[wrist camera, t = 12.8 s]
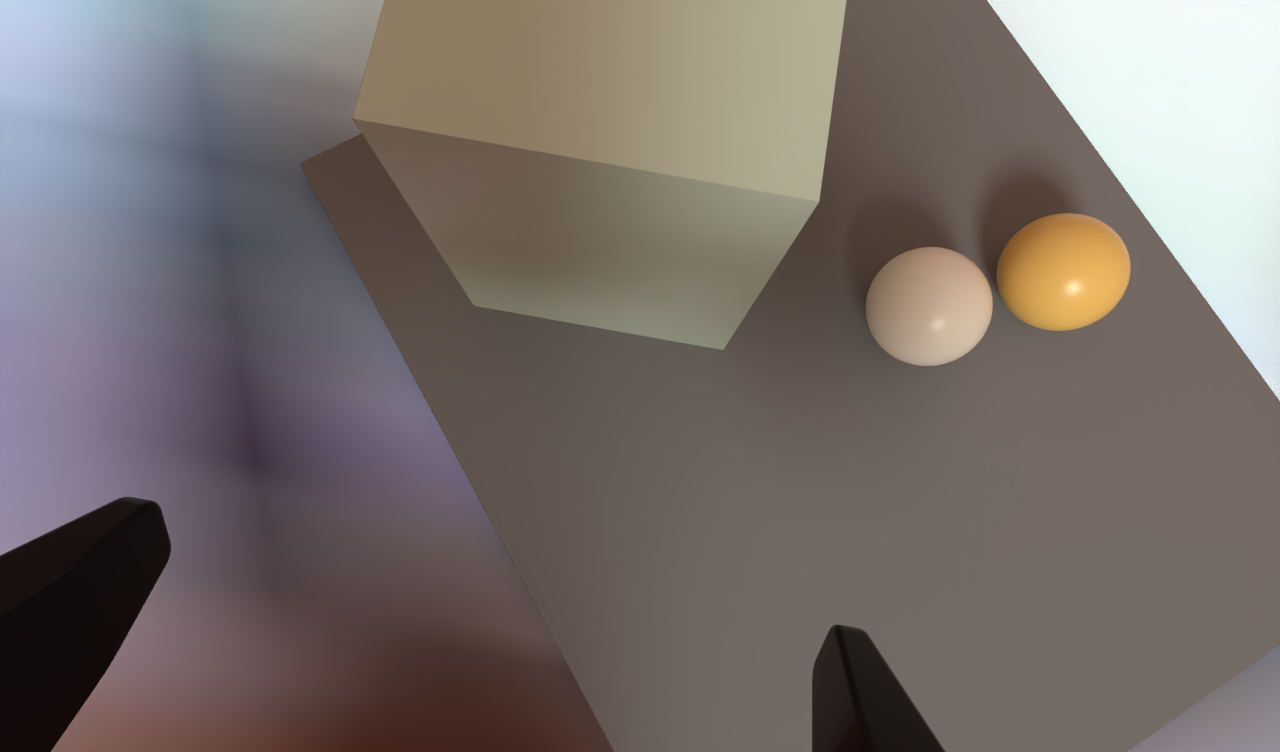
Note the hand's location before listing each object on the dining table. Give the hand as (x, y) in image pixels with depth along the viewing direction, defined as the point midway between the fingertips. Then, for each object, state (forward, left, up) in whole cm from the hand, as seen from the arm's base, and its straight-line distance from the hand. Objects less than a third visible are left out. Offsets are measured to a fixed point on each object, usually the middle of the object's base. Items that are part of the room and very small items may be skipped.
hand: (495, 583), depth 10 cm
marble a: (+1, -11, -8) cm, 14 cm away
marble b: (0, -15, -8) cm, 17 cm away
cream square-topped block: (+7, -6, -9) cm, 13 cm away
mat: (+1, -9, -10) cm, 13 cm away
